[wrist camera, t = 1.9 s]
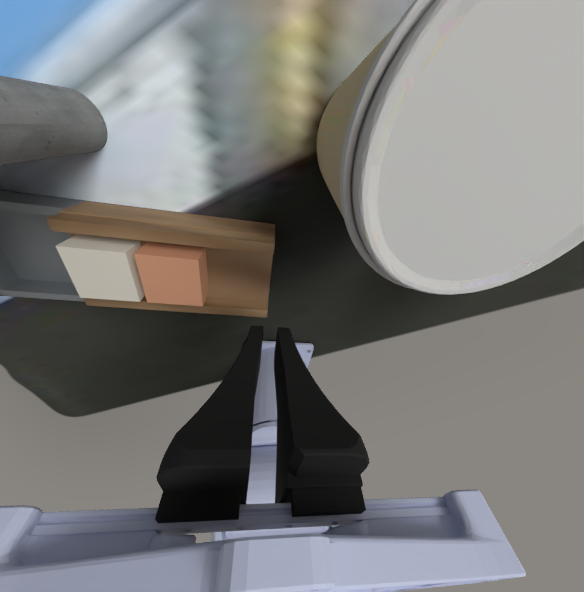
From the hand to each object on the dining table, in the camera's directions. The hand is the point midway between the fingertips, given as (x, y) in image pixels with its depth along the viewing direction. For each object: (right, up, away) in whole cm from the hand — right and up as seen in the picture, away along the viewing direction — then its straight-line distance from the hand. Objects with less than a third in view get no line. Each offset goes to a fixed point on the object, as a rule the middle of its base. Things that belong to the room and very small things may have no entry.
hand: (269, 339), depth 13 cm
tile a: (-7, +5, +5) cm, 10 cm away
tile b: (-12, +5, +4) cm, 13 cm away
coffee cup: (+7, +13, +3) cm, 15 cm away
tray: (-18, +7, +5) cm, 20 cm away
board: (-8, +6, +7) cm, 12 cm away
